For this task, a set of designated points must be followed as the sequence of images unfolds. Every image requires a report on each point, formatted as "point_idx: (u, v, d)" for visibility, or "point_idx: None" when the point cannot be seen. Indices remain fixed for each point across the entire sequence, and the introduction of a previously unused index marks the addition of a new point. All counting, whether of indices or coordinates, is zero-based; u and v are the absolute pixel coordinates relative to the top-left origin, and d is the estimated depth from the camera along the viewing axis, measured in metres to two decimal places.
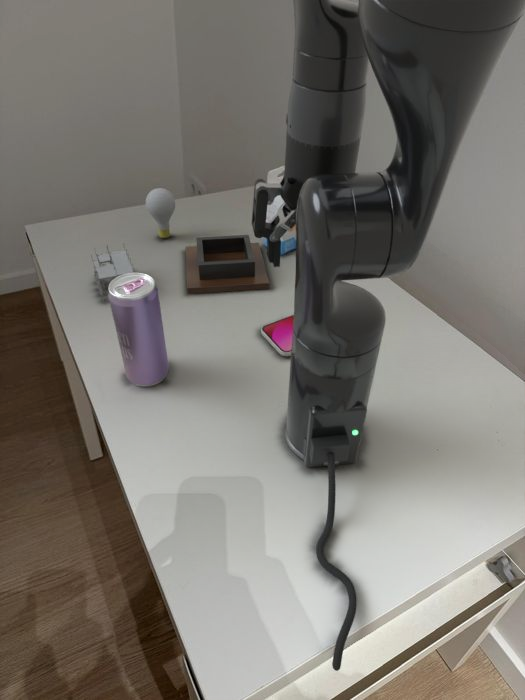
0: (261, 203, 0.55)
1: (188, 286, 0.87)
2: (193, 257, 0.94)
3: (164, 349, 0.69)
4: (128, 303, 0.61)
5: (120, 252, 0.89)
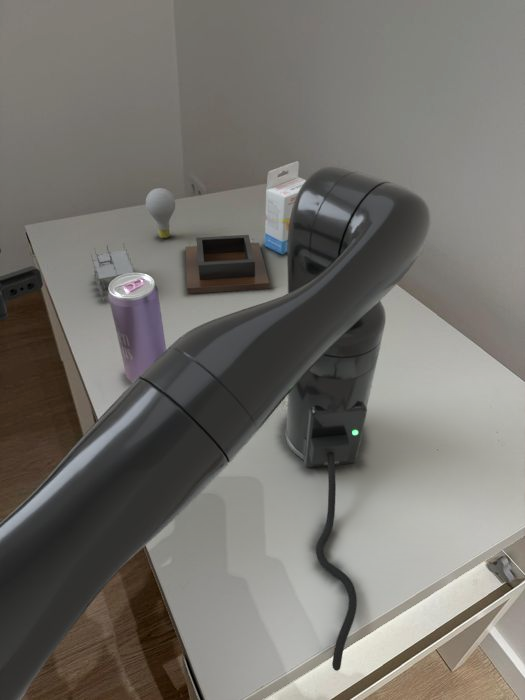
0: None
1: (188, 286, 0.87)
2: (193, 257, 0.94)
3: (164, 349, 0.69)
4: (128, 303, 0.61)
5: (120, 252, 0.89)
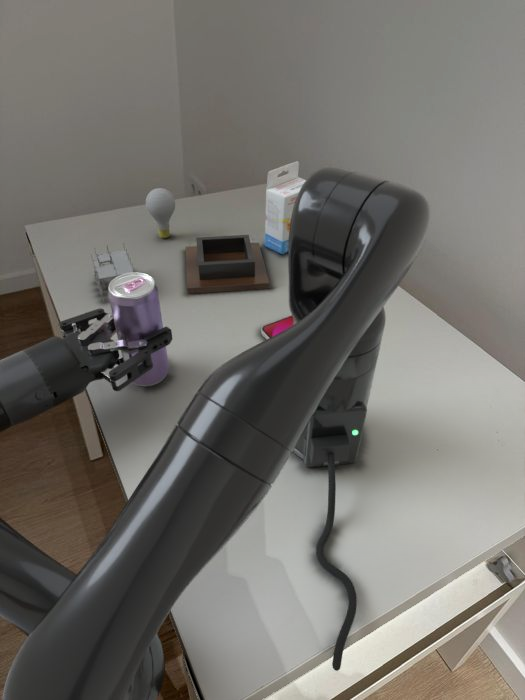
0: None
1: (188, 286, 0.87)
2: (193, 257, 0.94)
3: (164, 349, 0.69)
4: (128, 303, 0.61)
5: (120, 252, 0.89)
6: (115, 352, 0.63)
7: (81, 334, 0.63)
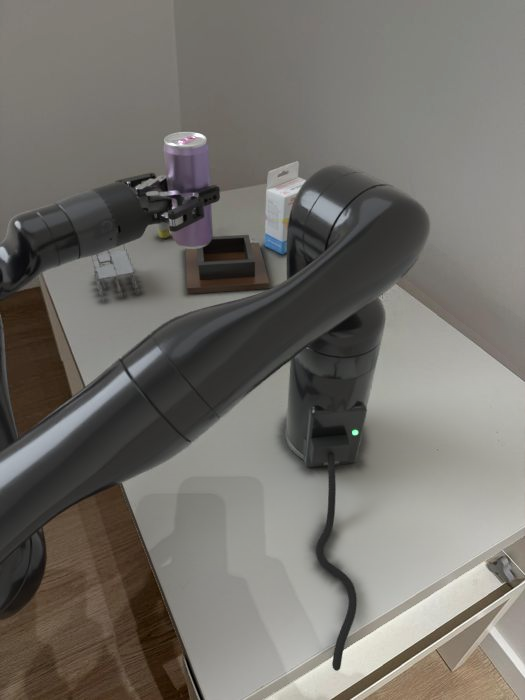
0: None
1: (188, 286, 0.87)
2: (193, 257, 0.94)
3: (210, 211, 0.74)
4: (183, 152, 0.66)
5: (120, 252, 0.89)
6: (170, 201, 0.68)
7: (138, 186, 0.68)
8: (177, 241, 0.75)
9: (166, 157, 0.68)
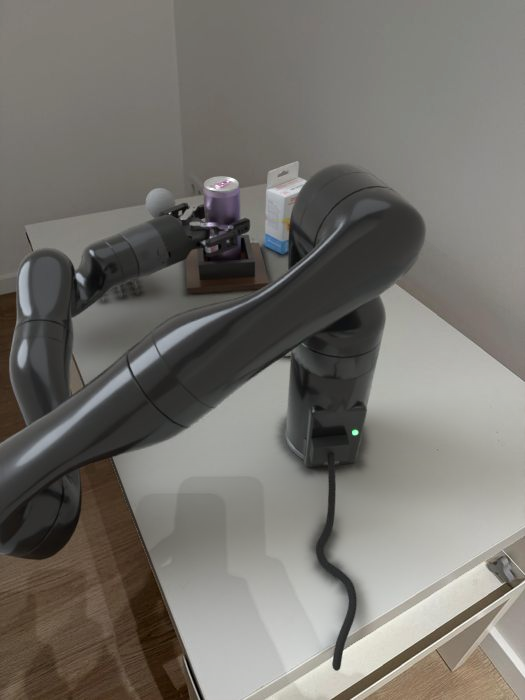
0: None
1: (188, 286, 0.87)
2: (193, 257, 0.94)
3: (240, 240, 0.89)
4: (220, 195, 0.81)
5: None
6: (209, 229, 0.82)
7: (182, 216, 0.83)
8: None
9: (205, 198, 0.83)
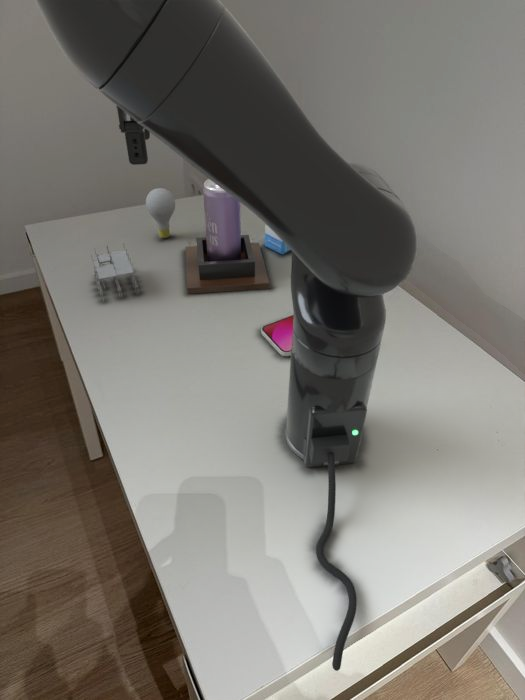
0: None
1: (188, 286, 0.87)
2: (193, 257, 0.94)
3: (240, 240, 0.89)
4: (220, 195, 0.81)
5: (120, 252, 0.89)
6: None
7: None
8: None
9: (205, 198, 0.83)
